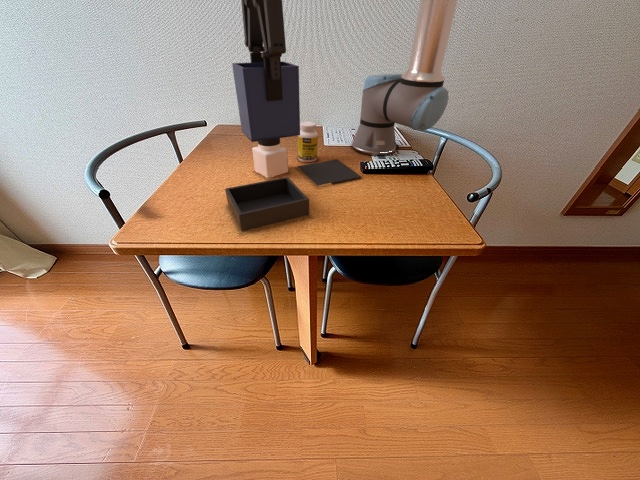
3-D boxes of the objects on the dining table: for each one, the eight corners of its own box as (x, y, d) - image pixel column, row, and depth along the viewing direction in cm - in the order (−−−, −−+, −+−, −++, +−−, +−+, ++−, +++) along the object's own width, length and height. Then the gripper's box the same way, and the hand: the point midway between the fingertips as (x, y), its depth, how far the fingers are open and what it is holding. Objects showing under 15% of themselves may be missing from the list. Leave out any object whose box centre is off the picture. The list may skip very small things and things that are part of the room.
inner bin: (287, 125, 62) (284, 61, 55) (300, 135, 58) (298, 65, 50) (241, 131, 59) (232, 63, 51) (251, 142, 54) (242, 68, 47)
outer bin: (288, 193, 74) (287, 176, 71) (309, 216, 65) (309, 199, 62) (228, 205, 68) (224, 188, 65) (242, 233, 59) (238, 215, 57)
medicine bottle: (288, 173, 83) (286, 131, 76) (267, 180, 80) (263, 136, 72) (274, 165, 88) (271, 125, 80) (254, 171, 84) (249, 129, 77)
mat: (336, 161, 92) (336, 159, 92) (361, 178, 82) (361, 176, 82) (296, 168, 87) (296, 166, 86) (317, 187, 77) (317, 185, 77)
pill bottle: (301, 164, 89) (301, 127, 83) (295, 156, 94) (294, 121, 87) (320, 161, 91) (321, 125, 84) (313, 154, 96) (313, 120, 89)
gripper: (211, -74, 45) (234, 87, 59) (246, -113, 32) (265, 110, 46) (257, -68, 48) (269, 85, 62) (307, -101, 34) (308, 105, 48)
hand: (267, 95), depth 54 cm, fingers closed on inner bin, 7 cm apart
